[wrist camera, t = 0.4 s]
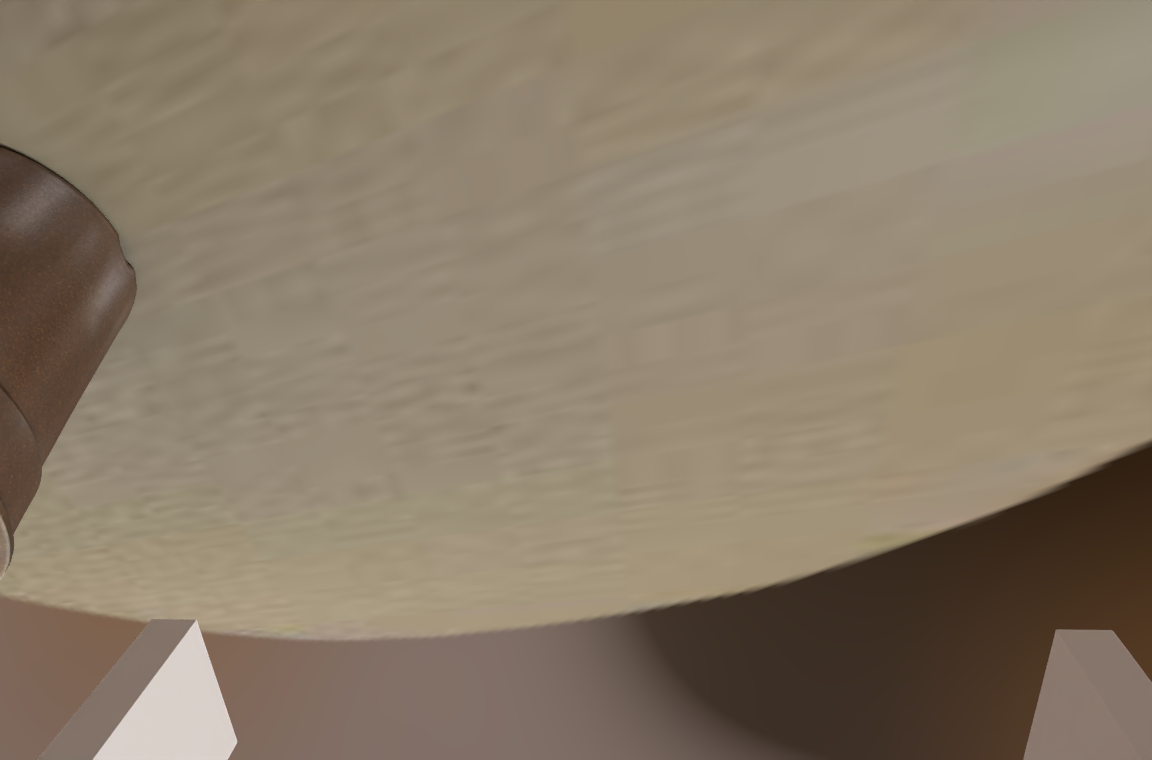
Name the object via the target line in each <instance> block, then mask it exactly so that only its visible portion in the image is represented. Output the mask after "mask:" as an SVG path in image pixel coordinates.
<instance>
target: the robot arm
mask: <svg viewBox="0 0 1152 760" xmlns="http://www.w3.org/2000/svg"><path fill="white" fill-rule="evenodd" d="M236 744H237V739H236V736H235V734H234V730H233V727H232V725H231V721H230V718H229V715H228V712H227V710H226V706H225V704H224V701H223V698H222V695H221V692H220V689H219V686H218V683H217V680H216V677H215V674H214V671H213V668H212V665H211V662H210V659H209V656H208V653H207V650H206V647H205V644H204V641H203V638H202V635H201V632H200V629H199V626H198V623H197V620H167V619H152V620H151V621H150V622H149V623H148V625H147V626H146V627H145V628H144V629H143V631H142V632H141V633H140V634H139V636H138V637H137V638H136V639H135V640H134V642H133V643H132V644H131V645H130V647H129V648H128V649H127V650H126V651H125V653H124V654H123V655H122V656H121V658H120V659H119V660H118V661H117V663H116V664H115V665H114V666H113V667H112V669H111V670H110V671H109V672H108V674H107V675H106V676H105V677H104V678H103V680H102V681H101V682H100V683H99V684H98V686H97V687H96V688H95V689H94V691H93V692H92V693H91V694H90V696H89V697H88V698H87V699H86V700H85V702H84V703H83V704H82V705H81V707H80V708H79V709H78V710H77V711H76V713H75V714H74V715H73V716H72V718H71V719H70V720H69V721H68V722H67V724H66V725H65V726H64V727H63V729H62V730H61V731H60V732H59V733H58V735H57V736H56V737H55V739H54V740H53V741H52V742H51V743H50V745H49V746H48V747H47V748H46V749H45V751H44V752H43V753H42V754H41V755H40V757H39V758H38V759H37V760H228V758H229V756H230V754H231V753H232V751H233V749H234V747H235V745H236ZM1023 760H1152V683H1151V681H1150V680H1149V678H1148V677H1147V676H1146V674H1145V673H1144V672H1143V670H1142V669H1141V668H1140V666H1139V665H1138V664H1137V662H1136V661H1135V660H1134V658H1133V657H1132V656H1131V654H1130V653H1129V652H1128V650H1127V649H1126V648H1125V646H1124V645H1123V644H1122V642H1121V641H1120V640H1119V638H1118V637H1117V636H1116V634H1115V633H1114V632H1113V631H1112V630H1056V632H1055V636H1054V640H1053V644H1052V648H1051V653H1050V656H1049V660H1048V664H1047V668H1046V672H1045V676H1044V680H1043V684H1042V688H1041V692H1040V696H1039V700H1038V704H1037V708H1036V712H1035V716H1034V720H1033V724H1032V728H1031V732H1030V735H1029V739H1028V744H1027V747H1026V751H1025V756H1024V759H1023Z"/></svg>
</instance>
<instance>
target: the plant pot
mask: <svg viewBox="0 0 1152 760" xmlns="http://www.w3.org/2000/svg"><path fill="white" fill-rule="evenodd" d="M136 290H137V287H136V277H135V271H134V268H133V267H132V266H130V265H129V264H128V263H127V262H126V260H125V257H124V255H123V252H122V249H121V246H120V241H119V236H118V233H117V232H116V230H115V229H114V227H113V226H112V225H111V223H110V222H109V221H108V220H107V218H106V217H105V216H104V215H103V214H102V213H101V212H100V211H99V210H98V208H97V207H96V206H95V205H94V204H93V203H92V202H91V201H89V200H88V199H87V198H86V197H85V196H84V195H83V194H82V193H80V192H79V191H78V190H77V189H75V188H74V187H73V186H72V185H70V184H69V183H68V182H66V181H65V180H63V179H62V178H61V177H59V176H58V175H56V174H55V173H53V172H51V171H50V170H48V169H46V168H45V167H43V166H41V165H40V164H38V163H36V162H34V161H32V160H30V159H28V158H26V157H24V156H22V155H20V154H17V153H15V152H12V151H10V150H7V149H4V148H1V147H0V580H1V578H2V577H3V576H4V574H5V572H6V570H7V568H8V566H9V565H10V562H11V559H12V555H13V551H14V536H13V534H14V532H15V530H16V528H17V527H18V525H19V523H20V521H21V519H22V517H23V515H24V513H25V512H26V510H27V508H28V506H29V505H30V503H31V501H32V499H33V498H34V496H35V494H36V492H37V490H38V487H39V484H40V481H41V476H42V466H43V464H44V462H45V460H46V459H47V457H48V455H49V453H50V451H51V450H52V448H53V446H54V444H55V442H56V440H57V439H58V437H59V435H60V433H61V431H62V430H63V428H64V426H65V424H66V422H67V421H68V419H69V417H70V415H71V413H72V412H73V410H74V408H75V406H76V405H77V403H78V401H79V399H80V398H81V396H82V394H83V392H84V391H85V389H86V387H87V386H88V384H89V382H90V381H91V379H92V377H93V375H94V374H95V372H96V370H97V369H98V367H99V365H100V363H101V362H102V360H103V358H104V356H105V355H106V353H107V351H108V349H109V348H110V346H111V344H112V343H113V341H114V339H115V337H116V336H117V334H118V332H119V331H120V329H121V328H122V326H123V324H124V323H125V321H126V320H127V318H128V316H129V313H130V311H131V309H132V306H133V303H134V300H135V296H136Z"/></svg>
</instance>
